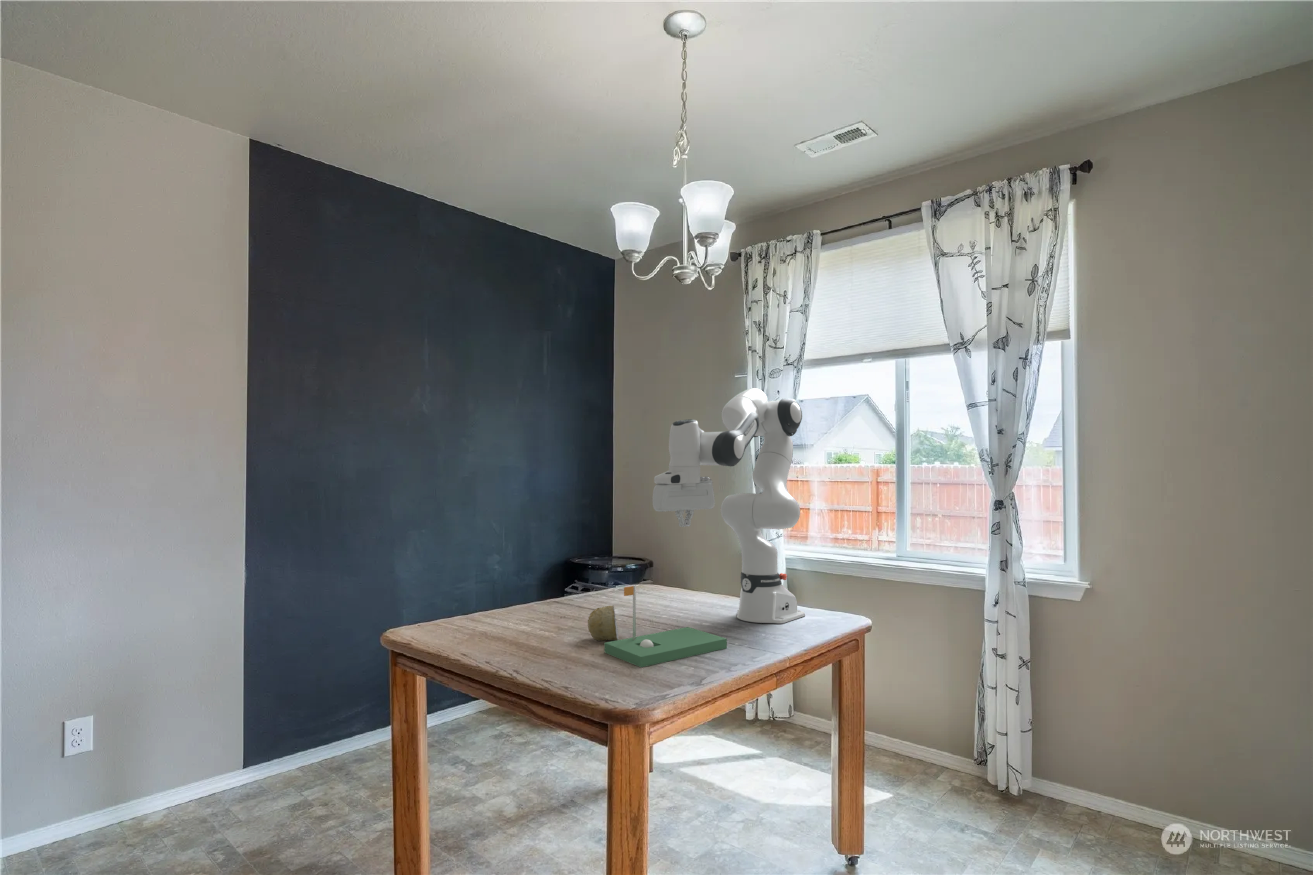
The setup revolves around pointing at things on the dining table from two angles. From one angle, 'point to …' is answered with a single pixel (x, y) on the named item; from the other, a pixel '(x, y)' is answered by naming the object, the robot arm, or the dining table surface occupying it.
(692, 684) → the dining table surface
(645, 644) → the ball
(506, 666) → the dining table surface
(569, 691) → the dining table surface
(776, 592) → the robot arm
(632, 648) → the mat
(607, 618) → the coral
